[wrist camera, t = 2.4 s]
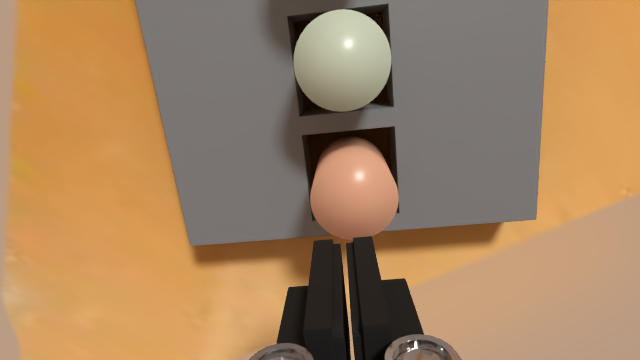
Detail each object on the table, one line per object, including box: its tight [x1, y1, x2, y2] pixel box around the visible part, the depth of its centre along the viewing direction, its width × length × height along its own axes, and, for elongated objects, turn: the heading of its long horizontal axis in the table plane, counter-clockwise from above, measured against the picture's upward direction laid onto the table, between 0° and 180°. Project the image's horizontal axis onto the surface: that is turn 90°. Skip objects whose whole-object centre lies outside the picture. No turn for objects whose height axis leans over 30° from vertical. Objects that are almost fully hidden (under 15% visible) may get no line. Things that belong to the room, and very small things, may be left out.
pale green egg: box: [293, 9, 391, 112], centre depth 18 cm, size 4×4×5 cm
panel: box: [135, 0, 548, 246], centre depth 21 cm, size 20×19×3 cm
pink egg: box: [310, 137, 399, 240], centre depth 20 cm, size 4×4×5 cm
